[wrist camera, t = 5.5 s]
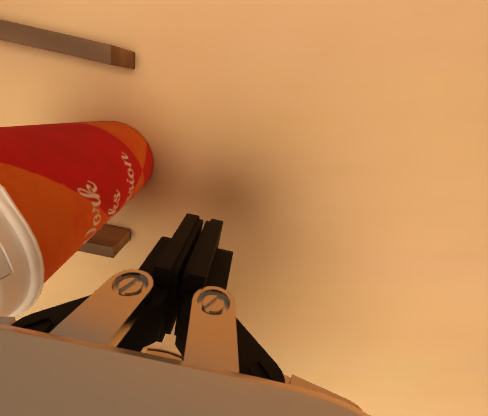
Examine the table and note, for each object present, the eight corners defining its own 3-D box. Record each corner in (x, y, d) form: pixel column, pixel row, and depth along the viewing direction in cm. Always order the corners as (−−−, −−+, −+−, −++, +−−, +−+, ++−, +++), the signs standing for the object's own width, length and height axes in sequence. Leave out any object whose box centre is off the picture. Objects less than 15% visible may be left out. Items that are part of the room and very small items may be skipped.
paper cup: (125, 218, 23) (-53, 379, 10) (52, 149, 20) (-295, 241, 8) (188, 164, 20) (61, 285, 7) (113, 80, 18) (-243, 49, 5)
